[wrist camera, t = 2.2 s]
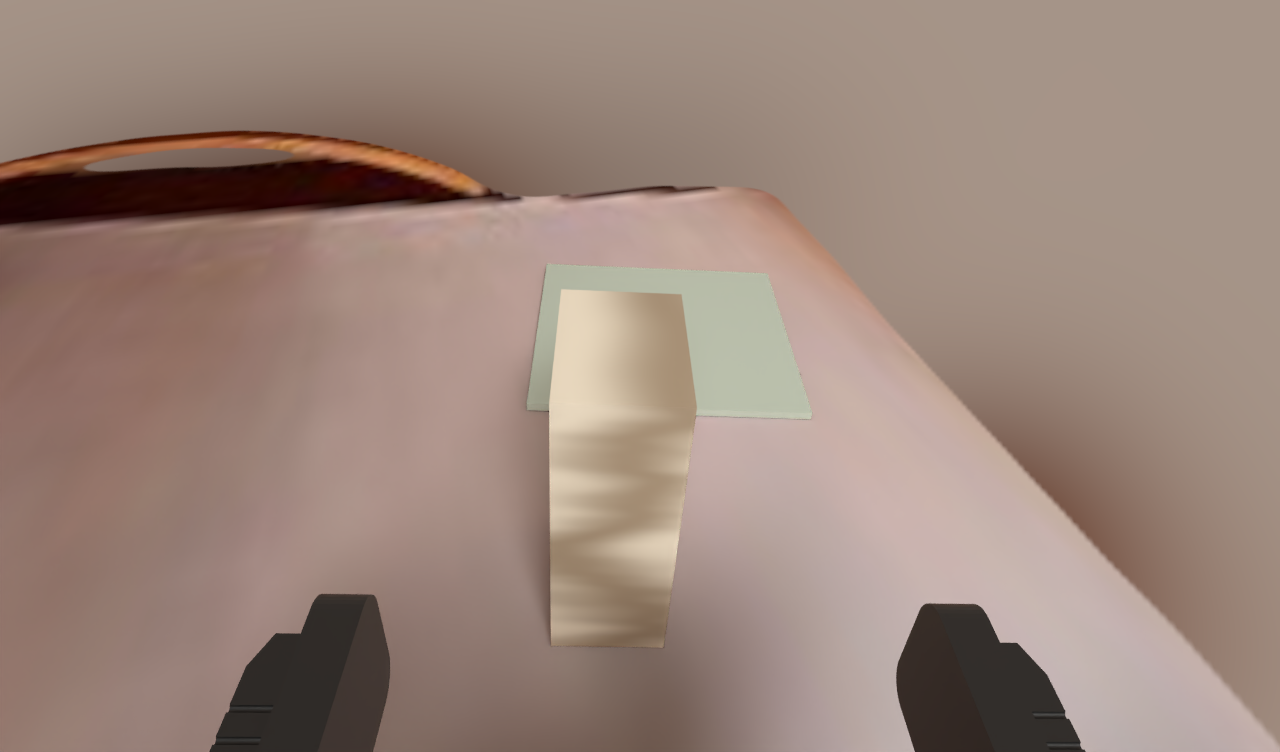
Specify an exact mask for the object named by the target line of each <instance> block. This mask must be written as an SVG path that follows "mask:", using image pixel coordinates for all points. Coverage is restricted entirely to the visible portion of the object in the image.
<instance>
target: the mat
mask: <svg viewBox="0 0 1280 752" xmlns="http://www.w3.org/2000/svg"><path fill="white" fill-rule="evenodd" d="M561 289H567V290H591V291H615V292H639V293H663V294H682V301H683V308H684V316H685V323H686V330H687V338H688V345H689V352H690V360H691V367H692V374H693V382H694V389H695V396H696V404H697V412H696V416H725V417H756V418H787V419H811V416H812V410H811V407H810V404H809V401H808V398H807V395H806V392H805V389H804V386H803V383H802V379H801V376H800V373H799V370H798V367H797V364H796V361H795V358H794V355H793V351H792V348H791V345H790V342H789V339H788V336H787V333H786V330H785V327H784V324H783V320H782V317H781V314H780V311H779V308H778V305H777V302H776V299H775V296H774V293H773V289H772V286H771V283H770V280H769V277H768V274H767V273H747V272H724V271H700V270H677V269H654V268H631V267H608V266H585V265H562V264H547V266H546V272H545V279H544V286H543V293H542V300H541V307H540V314H539V321H538V328H537V335H536V342H535V349H534V356H533V363H532V370H531V377H530V384H529V391H528V398H527V410H538V411H549V399H550V390H551V380H552V371H553V362H554V352H555V343H556V334H557V324H558V315H559V305H560V296H561Z"/></svg>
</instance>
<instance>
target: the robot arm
mask: <svg viewBox="0 0 1280 752" xmlns="http://www.w3.org/2000/svg"><path fill="white" fill-rule="evenodd" d="M389 679H390V657H389V652H388V647H387V643H386V638H385V634H384V630H383V625H382V621H381V616H380V612H379V607H378V603H377V600H376V597H375V596H374V595H365V594H320V595H319V596H317V598H316V599H315V600H314V602H313V604H312V606H311V609H310V611H309V614H308V616H307V619H306V622H305V624H304V627H303V630H302V632H301V634H280V633H276V634H275V635H274V636H273V637H272V638H271V639H270V641H269V642H268V643H267V644H266V645H265V646H264V647H263V648H262V649H261V651H260V652H259V653H258V654H257V655H256V656H255V657H254V658H253V659H252V661H251V662H250V663H249V664H248V665H247V666H246V668H245V670H244V673H243V675H242V677H241V680H240V682H239V684H238V687H237V689H236V691H235V694H234V696H233V698H232V701H231V703H230V710H229V712H228V713H226V714H225V717H224V719H223V721H222V724H221V726H220V728H219V731H218V733H217V735H216V742H215V744H214V745H212V747H211V749H210V752H373V749H374V745H375V742H376V738H377V734H378V730H379V726H380V722H381V718H382V714H383V710H384V707H385V703H386V698H387V693H388V687H389ZM896 682H897V693H898V698H899V703H900V706H901V710H902V713H903V716H904V719H905V722H906V725H907V728H908V731H909V734H910V738H911V741H912V744H913V747H914V750H915V752H1085V750H1082V749H1081V747H1080V740H1079V738H1078V736H1077V734H1076V732H1075V730H1074V728H1073V726H1072V724H1071V722H1070V720H1069V719H1066V717H1065V710H1064V708H1063V706H1062V704H1061V702H1060V700H1059V698H1058V696H1057V694H1056V692H1055V690H1054V688H1053V686H1052V684H1051V682H1050V680H1049V678H1048V676H1047V674H1046V673H1045V672H1044V671H1043V670H1042V669H1041V668H1040V667H1039V666H1038V665H1037V664H1036V663H1035V662H1034V660H1033V659H1032V658H1031V657H1030V656H1029V655H1028V654H1027V653H1026V652H1025V651H1024V650H1023V649H1022V648H1021V647H1020V645H1019V644H1018V643H1000V642H999V640H998V638H997V635H996V633H995V631H994V629H993V627H992V625H991V623H990V620H989V618H988V616H987V615H986V613H985V612H984V610H983V609H982V608H981V607H980V606H978V605H976V604H925V605H923V606H922V607H921V609H920V611H919V614H918V616H917V618H916V621H915V623H914V626H913V628H912V630H911V633H910V635H909V637H908V640H907V642H906V645H905V647H904V649H903V652H902V654H901V657H900V659H899V662H898V666H897V675H896Z"/></svg>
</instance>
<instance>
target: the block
mask: <svg viewBox="0 0 1280 752" xmlns="http://www.w3.org/2000/svg"><path fill="white" fill-rule="evenodd" d="M696 412H697V404H696V396H695V389H694V382H693V374H692V367H691V360H690V352H689V345H688V338H687V330H686V323H685V316H684V308H683V301H682V294H663V293H639V292H615V291H591V290H567V289H561V296H560V305H559V315H558V324H557V334H556V343H555V352H554V362H553V371H552V380H551V390H550V399H549V461H550V605H551V646H588V647H657V648H664V641H665V634H666V627H667V620H668V613H669V605H670V598H671V591H672V584H673V577H674V570H675V562H676V555H677V548H678V541H679V534H680V526H681V519H682V512H683V505H684V498H685V491H686V483H687V476H688V469H689V462H690V455H691V448H692V440H693V433H694V426H695V419H696Z"/></svg>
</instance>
